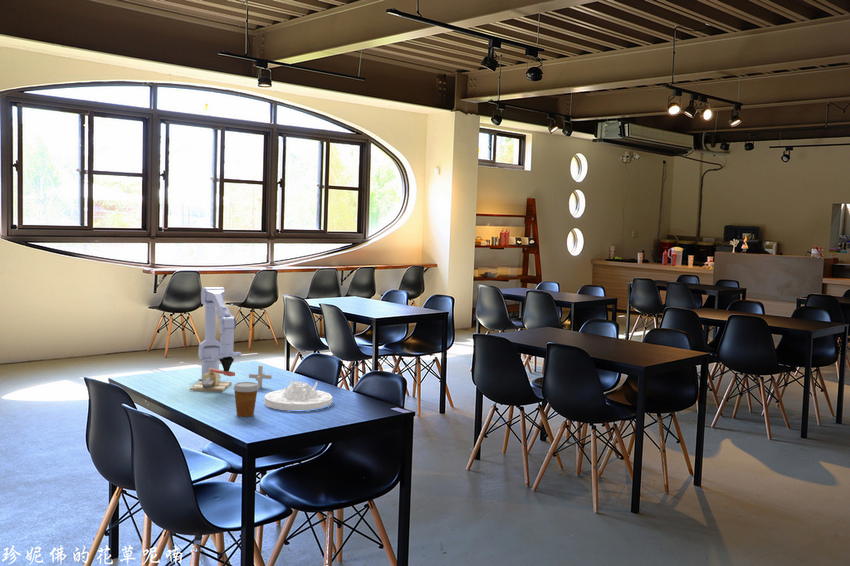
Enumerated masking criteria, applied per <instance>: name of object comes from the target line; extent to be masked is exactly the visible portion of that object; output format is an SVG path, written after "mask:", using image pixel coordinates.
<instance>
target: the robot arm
mask: <svg viewBox="0 0 850 566" xmlns="http://www.w3.org/2000/svg"><path fill="white" fill-rule="evenodd" d="M225 297H226V289H225V288H224V287H223V286H221V287H220V286H216V287H215V286H211V287H210V286H209V287H208V286H203V287H202V288H201V291H200V301H201V305H203V306H204V340H203V341H201V342H200V343H199V344H198V350H197V351H198V352H197V354H198V355H197V356H198V359H199V360H201V377H200V378H198V380H199V381H203V375H204V374H205V373H207V372H209V368H214V369H218V370H220V363H221V366H222V369H223V371H230V368H231V366H232V364H233V362H234V361H235V358H236V357H240V358H241V357H242V351H234V346H235V345H234V342H235V341H234V340H235V338H234V337H235V330H236V328H237V320H236V319H237V318H236V317H235V315H232V314H231V310H230V309H229V307H228V306H227V305H226V304H225V301H224V300H225ZM216 316H217V318H218V328H219V329H218V330H219V334H220V338H219V339H220V341H219V340H217V339H216V335H217V333H216V332H217V330H216V329H217V328H216V326H217V325H216V319H217V318H216ZM219 361H220V362H219ZM220 378H221V375H220Z"/></svg>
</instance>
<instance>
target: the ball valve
mask: <svg viewBox="0 0 850 566" xmlns="http://www.w3.org/2000/svg"><path fill="white" fill-rule="evenodd" d="M220 376H221V374H220V373H215V372H211V371H209V372H207V373H205V374H204V375H203V380H202V381H203V382H202V386H203V388H212V386H214V387H216V386H217V385H218V384H219V382H220V379H221V377H220Z"/></svg>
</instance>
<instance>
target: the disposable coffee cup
mask: <svg viewBox="0 0 850 566" xmlns="http://www.w3.org/2000/svg"><path fill="white" fill-rule="evenodd" d="M232 388H233V390H234V400H235V401H234V402H235V409H236V410H235V411H236V416H238V417H241V418H249V417H252V416H254V414H255V409H256V408H255V407H256V403H257V395H258V391H259V389H260V388H259V387H258V382H257V383H256V382H253V381H252V382H251V381H240V382H236V383H235V384H234V386H233V387H232ZM248 416H249V417H248Z"/></svg>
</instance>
